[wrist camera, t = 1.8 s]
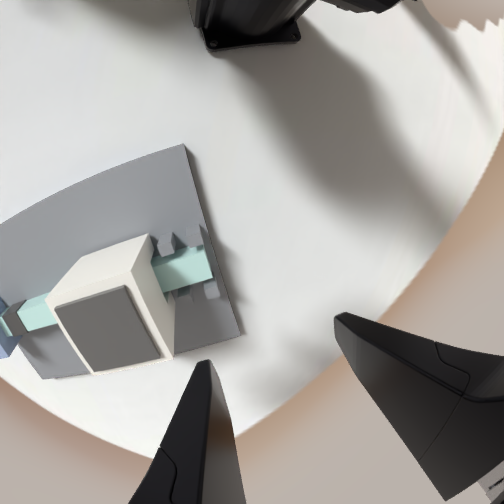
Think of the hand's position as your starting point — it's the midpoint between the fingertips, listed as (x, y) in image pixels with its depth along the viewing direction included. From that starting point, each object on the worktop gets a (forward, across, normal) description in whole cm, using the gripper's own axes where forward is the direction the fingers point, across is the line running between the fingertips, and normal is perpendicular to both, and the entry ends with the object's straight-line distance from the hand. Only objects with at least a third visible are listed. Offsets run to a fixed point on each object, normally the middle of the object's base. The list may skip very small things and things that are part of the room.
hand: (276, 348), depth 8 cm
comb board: (+11, +11, 0) cm, 16 cm away
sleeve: (+10, +7, 0) cm, 12 cm away
